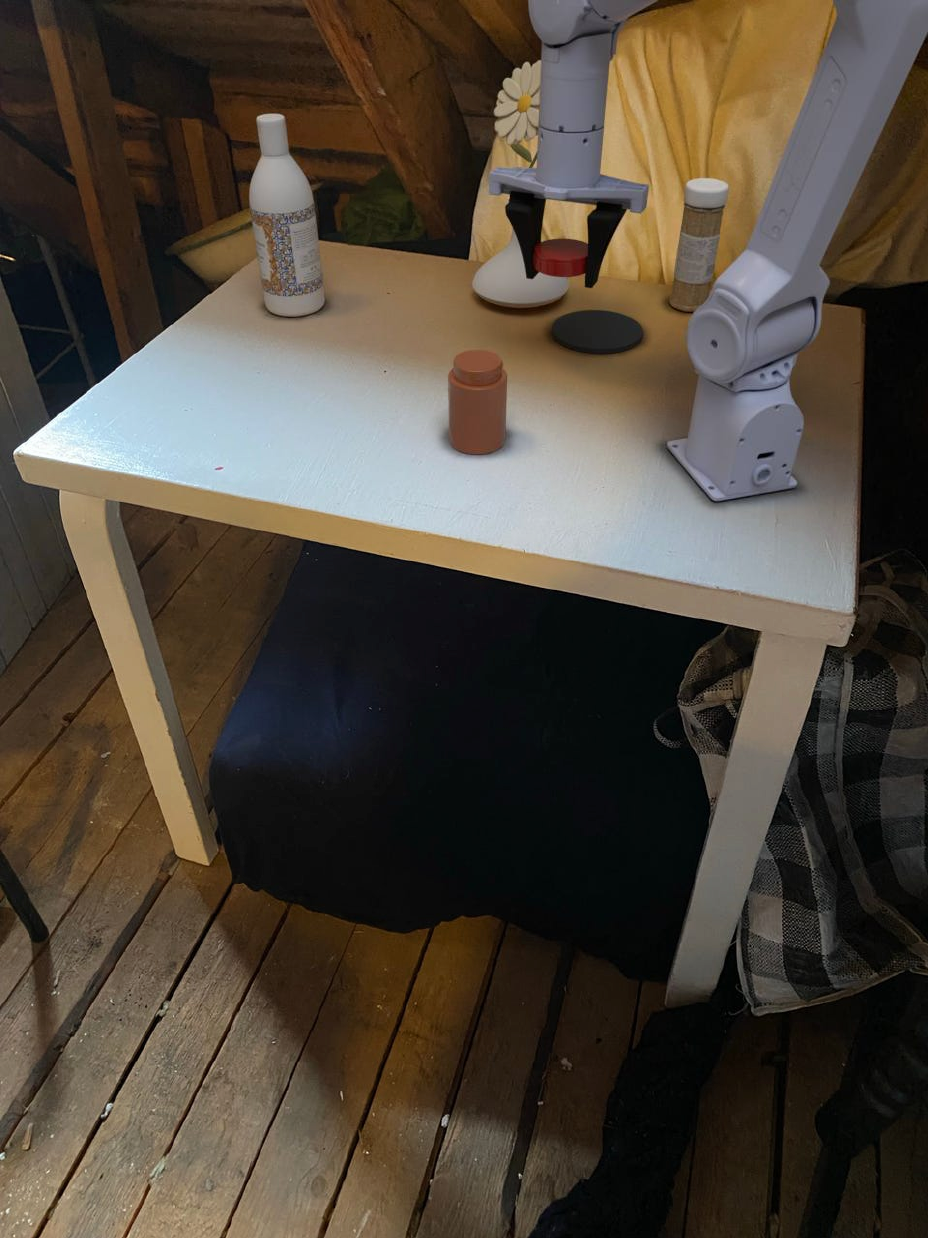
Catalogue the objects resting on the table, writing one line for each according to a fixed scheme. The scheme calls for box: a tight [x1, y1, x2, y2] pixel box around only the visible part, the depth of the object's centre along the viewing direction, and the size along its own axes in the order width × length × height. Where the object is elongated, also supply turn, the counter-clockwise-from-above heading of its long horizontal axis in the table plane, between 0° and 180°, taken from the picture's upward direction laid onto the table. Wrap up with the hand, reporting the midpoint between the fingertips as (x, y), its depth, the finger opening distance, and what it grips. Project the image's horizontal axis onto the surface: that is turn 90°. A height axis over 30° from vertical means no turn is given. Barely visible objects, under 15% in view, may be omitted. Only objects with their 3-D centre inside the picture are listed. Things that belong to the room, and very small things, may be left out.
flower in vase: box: [471, 59, 570, 309], centre depth 100 cm, size 13×11×25 cm
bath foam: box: [248, 113, 326, 318], centre depth 101 cm, size 7×7×20 cm
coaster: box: [551, 309, 644, 355], centre depth 101 cm, size 10×10×1 cm
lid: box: [533, 238, 588, 278], centre depth 88 cm, size 6×6×2 cm
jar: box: [447, 349, 508, 456], centre depth 82 cm, size 5×5×8 cm
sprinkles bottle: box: [668, 177, 730, 313], centre depth 103 cm, size 5×5×14 cm
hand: (561, 279), depth 89 cm, fingers closed on lid, 5 cm apart
